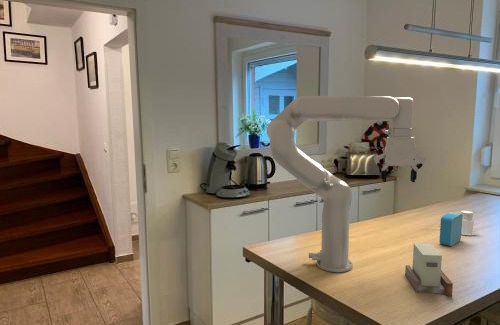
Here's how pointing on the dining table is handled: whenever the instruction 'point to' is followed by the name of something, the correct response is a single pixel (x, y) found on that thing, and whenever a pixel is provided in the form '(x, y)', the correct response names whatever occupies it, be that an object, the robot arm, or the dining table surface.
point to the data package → (450, 228)
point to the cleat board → (444, 287)
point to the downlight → (467, 223)
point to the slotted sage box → (427, 264)
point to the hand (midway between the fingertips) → (398, 181)
